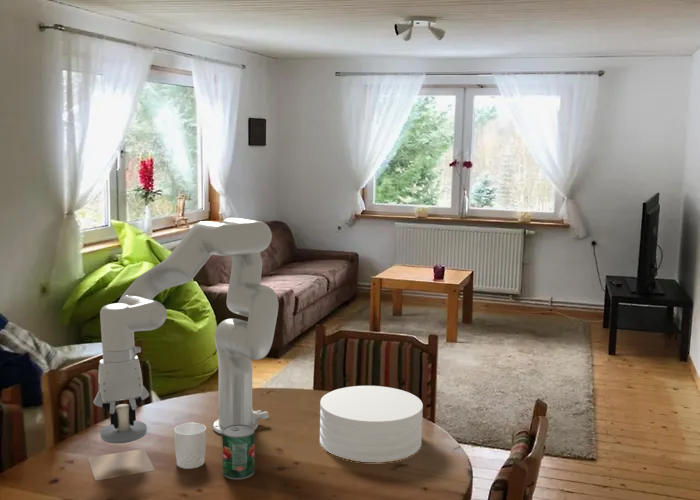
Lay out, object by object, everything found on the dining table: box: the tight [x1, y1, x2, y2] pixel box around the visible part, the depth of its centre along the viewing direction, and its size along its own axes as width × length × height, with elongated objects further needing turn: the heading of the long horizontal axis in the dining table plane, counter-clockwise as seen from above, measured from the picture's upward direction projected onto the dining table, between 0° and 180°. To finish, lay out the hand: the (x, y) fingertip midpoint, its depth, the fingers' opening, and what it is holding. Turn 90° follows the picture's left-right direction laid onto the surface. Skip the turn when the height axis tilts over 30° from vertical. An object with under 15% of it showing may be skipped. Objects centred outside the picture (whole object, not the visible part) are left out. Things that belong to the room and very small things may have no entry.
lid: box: [100, 403, 148, 444], centre depth 185 cm, size 11×11×7 cm
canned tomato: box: [221, 424, 256, 480], centre depth 184 cm, size 8×8×11 cm
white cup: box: [173, 422, 207, 470], centre depth 187 cm, size 8×8×10 cm
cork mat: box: [87, 448, 156, 481], centre depth 186 cm, size 14×14×1 cm
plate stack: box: [319, 385, 424, 462], centre depth 205 cm, size 28×28×12 cm
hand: (123, 424), depth 185 cm, fingers closed on lid, 3 cm apart
